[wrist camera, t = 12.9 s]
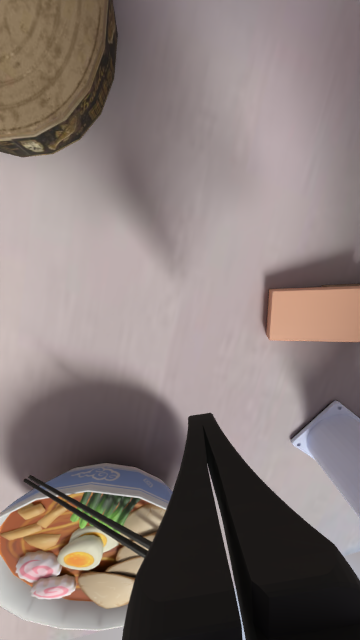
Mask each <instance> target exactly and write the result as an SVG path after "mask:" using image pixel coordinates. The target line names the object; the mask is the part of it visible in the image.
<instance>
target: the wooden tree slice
mask: <svg viewBox="0 0 360 640" xmlns="http://www.w3.org/2000/svg"><path fill="white" fill-rule="evenodd" d="M117 37H118V34H117V28H116V21H115V14H114V8H113V1H112V0H0V152H3V153H7V154H11V155H15V156H19V157H29V156H39V155H48V154H54V153H56V152H58V151H60V150H61V149H63V148H65V147H67V146H69V145H71V144H72V143H74V142H76V141H78V140H80V139H81V138H82V136H83V135H84V134H85V133H86V131H87V130H88V129H89V128H90V127H91V125H92V124H93V123H94V122H95V121H96V119H97V118H98V117H99V116H100V114H101V112H102V109H103V107H104V104H105V101H106V99H107V96H108V93H109V91H110V88H111V85H112V83H113V80H114V72H115V61H116V49H117Z"/></svg>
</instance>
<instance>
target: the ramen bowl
mask: <svg viewBox="0 0 360 640" xmlns="http://www.w3.org/2000/svg"><path fill="white" fill-rule="evenodd" d="M28 478H30V479H31V480H33V481H35V482H36V483H38V484H40V486H37V485H36V484H34V483H32V482H31V481H29V480H27V479H24V482H26V483H27V484H29V485H30V486H32V487H33V488H34V489H33V490H31V491H30V492H28V493H27V494H25V495H24V496H22V497H20V498H19V499H17V500H16V501H14V502H13V503H12V504H11V505H10V506H8V507H7V508H6V509H5V510H3V511H2V512H1V513H0V607H1V608H3V609H5V610H7V611H8V612H10V613H12V614H14V615H15V616H17V617H19V618H20V619H22V620H26V621H30V622H34V623H38V624H42V625H46V626H50V627H54V628H58V629H71V630H98V631H101V630H107V629H112V628H117V627H124V623H125V618H126V612H127V607H128V603H129V599H130V595H131V591H132V588H133V584H134V581H135V577H136V574H137V572H138V570H139V568H140V566H141V564H142V562H143V560H144V558H145V556H146V554H147V552H148V550H149V548H150V546H151V544H152V541H153V539H154V537H155V535H156V532H157V530H158V528H159V526H160V523H161V521H162V519H163V516H164V514H165V511H166V509H167V506H168V504H169V501H170V498H171V495H172V493H173V492H172V491H171V490H170V489H169V488H168V486H167V485H166V484H165V483H164V482H163V481H162V480H161V479H159V478H157V477H155V476H153V475H151V474H149V473H147V472H145V471H143V470H140V469H138V468H136V467H131V466H124V465H117V464H110V463H102V464H96V465H90V466H83V467H77V468H73V469H71V470H69V471H67V472H66V473H64V474H62V475H60V476H58V477H56V478H54V479H52V480H50V481H48V482H46V483H44V482H42V481H40V480H38V479H37V478H35V477H33V476H31V475H30V476H29V477H28Z"/></svg>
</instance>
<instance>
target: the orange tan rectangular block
mask: <svg viewBox="0 0 360 640" xmlns="http://www.w3.org/2000/svg"><path fill="white" fill-rule="evenodd" d="M266 335H267V337H268V339H269V340H279V341H327V342H360V286H344V287H316V288H288V289H269V300H268V316H267V332H266Z"/></svg>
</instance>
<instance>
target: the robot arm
mask: <svg viewBox="0 0 360 640" xmlns="http://www.w3.org/2000/svg"><path fill="white" fill-rule="evenodd" d="M291 443H292V444H293V445H294V446H295V447H297V448H298V449H300V450H301V451H303V452H304V453H306V454H307V455H309V456H310V457H312V458H313V459H315V460H316V461H317V462H318V464H319V465H320V466H321V468H322V469H323V470H324V472H325V473H326V474H327V476H328V477H329V478H330V480H331V481H332V482H333V484H334V485H335V486H336V488H337V489H338V490H339V492H340V493H341V494H342V496H343V497H344V498H345V500H346V501H347V502H348V504H349V505H350V506H351V508H352V509H353V510H354V511H355V513H356V514H357V515H358V517H359V518H360V418H358V417H357V416H356V415H355V414H353V413H352V412H351V411H350V410H348V409H347V408H346V407H345V406H343V405H342V404H341V403H340V402H338V401H334V402H332V403H331V404H330V405H329V406H328V407H327V408H326V409H325V410H323V411H322V412H321V413H320V414H319V415H318V416H317V417H316V418H315V419H314V420H312V421H311V422H310V423H309V424H308V425H307V426H306V427H305V428H304V429H302V430H301V431H300V432H299V433H298V434H297V435H296V436H295V437H294V438H293V439H292V440H291ZM207 464H208V467H207ZM208 468H209V471H210V475H211V479H212V482H213V486H214V490H215V494H216V497H217V501H218V505H219V508H220V512H221V516H222V521H223V525H224V530H225V535H226V540H227V545H228V550H229V555H230V560H231V565H232V570H233V576H234V581H235V586H236V590H237V596H238V601H239V606H240V612H241V617H242V622H243V626H244V632H245V638H246V640H360V580H359V579H358V577H357V576H356V574H355V573H354V571H353V570H352V568H351V567H350V565H349V564H348V562H347V561H346V560H345V558H344V557H343V555H342V554H341V553H340V551H339V550H338V549H337V547H336V546H335V545H334V544H333V543H332V542H331V541H329V540H328V539H327V538H326V537H324V536H323V535H322V534H321V533H319V532H318V531H317V530H316V529H314V528H313V527H312V526H311V525H310V524H308V523H307V522H306V521H305V520H304V519H303V518H301V517H300V516H299V515H298V514H297V513H296V512H295V511H293V510H292V509H291V508H290V507H289V506H288V505H287V504H286V503H285V502H284V501H283V500H281V499H280V498H279V497H278V496H277V495H276V494H275V493H274V492H273V491H272V490H271V489H270V488H269V487H268V486H267V485H266V484H265V483H264V482H263V481H262V480H261V479H260V478H259V477H258V476H257V475H256V473H255V472H254V471H253V470H252V469H251V468H250V467H249V466H248V465H247V463H246V462H245V461H244V460H243V459H242V457H241V456H240V455H239V454H238V452H237V451H236V450H235V448H234V447H233V446H232V444H231V443H230V442H229V440H228V439H227V438H226V436H225V435H224V433H223V432H222V430H221V429H220V427H219V425H218V424H217V422H216V420H215V418H214V416H213V414H211V413H207V414H200V415H193V416H189V417H188V433H187V440H186V445H185V451H184V455H183V459H182V463H181V467H180V471H179V474H178V477H177V481H176V484H175V487H174V490H173V493H172V495H171V498H170V501H169V504H168V506H167V509H166V511H165V514H164V516H163V519H162V521H161V523H160V526H159V528H158V530H157V532H156V535H155V537H154V539H153V541H152V544H151V546H150V548H149V550H148V552H147V554H146V556H145V558H144V560H143V562H142V564H141V566H140V568H139V570H138V572H137V574H136V577H135V581H134V584H133V588H132V591H131V595H130V599H129V603H128V607H127V612H126V618H125V623H124V629H123V637H122V640H242V627H241V620H240V616H239V611H238V606H237V601H236V596H235V591H234V586H233V582H232V578H231V573H230V569H229V565H228V560H227V556H226V551H225V547H224V542H223V538H222V533H221V529H220V524H219V520H218V515H217V511H216V506H215V501H214V497H213V492H212V487H211V482H210V477H209V473H208Z"/></svg>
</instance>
